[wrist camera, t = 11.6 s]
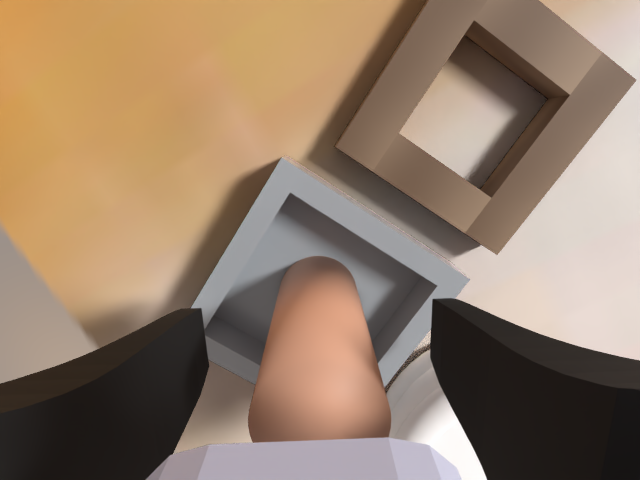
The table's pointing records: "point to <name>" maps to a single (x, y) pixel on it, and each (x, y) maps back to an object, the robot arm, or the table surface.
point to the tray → (320, 240)
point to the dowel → (318, 362)
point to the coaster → (430, 417)
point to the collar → (534, 143)
